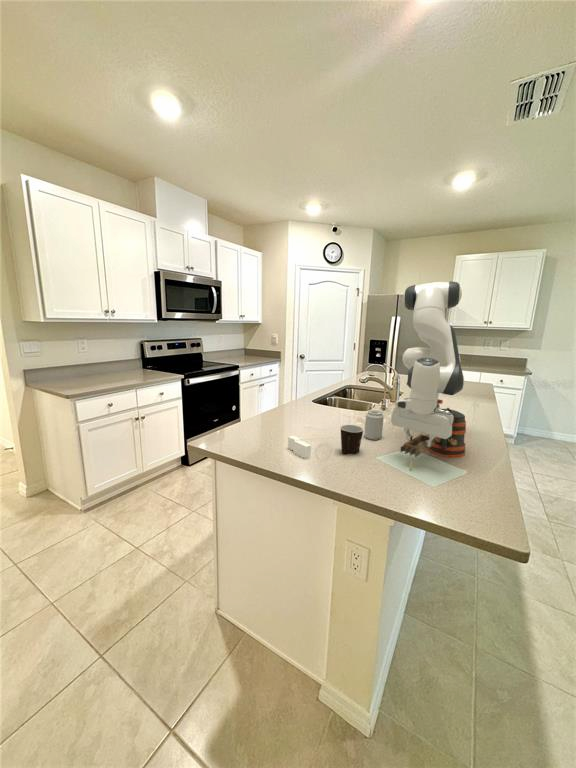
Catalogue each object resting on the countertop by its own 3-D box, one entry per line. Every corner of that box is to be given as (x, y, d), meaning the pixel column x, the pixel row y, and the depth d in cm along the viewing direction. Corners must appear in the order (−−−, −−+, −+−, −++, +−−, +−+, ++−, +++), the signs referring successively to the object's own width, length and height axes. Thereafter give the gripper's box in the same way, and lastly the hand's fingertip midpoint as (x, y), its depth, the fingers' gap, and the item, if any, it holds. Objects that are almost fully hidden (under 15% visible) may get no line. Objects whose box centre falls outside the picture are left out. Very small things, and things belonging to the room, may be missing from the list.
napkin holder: (316, 461, 112) (317, 447, 111) (285, 461, 111) (285, 446, 110) (311, 445, 126) (312, 432, 125) (283, 445, 126) (284, 432, 125)
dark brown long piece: (420, 440, 117) (420, 434, 117) (434, 444, 113) (435, 438, 113) (400, 452, 106) (400, 445, 106) (415, 457, 103) (416, 450, 102)
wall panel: (409, 450, 124) (410, 447, 124) (468, 475, 104) (469, 472, 104) (374, 460, 113) (374, 457, 113) (432, 490, 94) (433, 487, 94)
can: (379, 435, 140) (382, 409, 137) (383, 441, 132) (385, 414, 130) (363, 434, 140) (365, 408, 138) (365, 440, 133) (367, 413, 131)
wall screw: (410, 470, 104) (411, 460, 104) (411, 470, 104) (412, 461, 103) (409, 470, 104) (410, 460, 103) (410, 471, 104) (411, 461, 103)
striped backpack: (468, 468, 109) (476, 414, 106) (423, 459, 115) (429, 408, 111) (462, 449, 126) (469, 402, 123) (424, 442, 132) (429, 397, 128)
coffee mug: (347, 446, 125) (348, 423, 123) (365, 453, 119) (367, 428, 117) (329, 454, 117) (331, 429, 115) (348, 462, 111) (350, 435, 109)
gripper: (458, 410, 101) (452, 449, 104) (399, 398, 115) (395, 433, 118) (450, 414, 97) (445, 455, 100) (390, 401, 111) (387, 437, 114)
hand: (418, 443), depth 109 cm, fingers closed on dark brown long piece, 5 cm apart
